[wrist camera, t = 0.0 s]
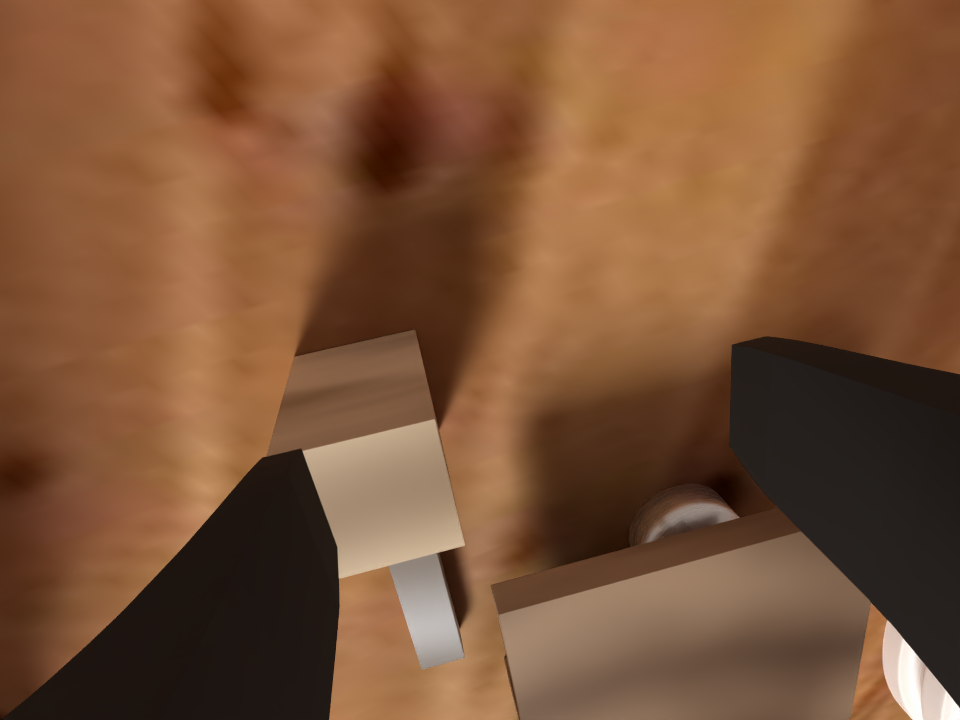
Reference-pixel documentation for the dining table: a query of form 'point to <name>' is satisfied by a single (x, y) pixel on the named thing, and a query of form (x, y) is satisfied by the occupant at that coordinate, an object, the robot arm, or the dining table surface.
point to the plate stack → (914, 681)
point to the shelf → (688, 630)
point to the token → (678, 513)
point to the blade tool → (380, 474)
